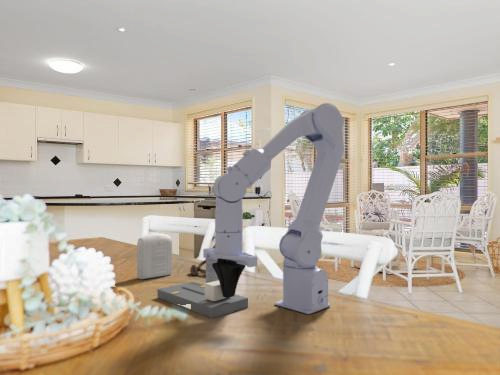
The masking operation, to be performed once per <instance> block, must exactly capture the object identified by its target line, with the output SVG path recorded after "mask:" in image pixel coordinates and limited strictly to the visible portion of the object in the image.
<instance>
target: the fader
mask: <svg viewBox="0 0 500 375" xmlns="http://www.w3.org/2000/svg"><path fill="white" fill-rule="evenodd" d="M204 285H205V299H208V300H211V301H217V300H221V299H225V298H226V297H223V294H222V290H221V286H220V282H219V280H218V281H213V282H209V283H206V282H205V283H204Z"/></svg>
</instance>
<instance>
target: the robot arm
mask: <svg viewBox="0 0 500 375" xmlns="http://www.w3.org/2000/svg"><path fill="white" fill-rule="evenodd" d="M344 122H345V119H344V116H342V113H341V112H340V110H339V108H338V107H337V106H336V105H334V104H333V103H329V102H324V103H321V104H319V105H318V106H316V107H314V108H311V109H307V110H304V111H303V112H302V113H300V115H297V116H296V117H294V118H292V120H290V121H288V123H287V124H286V125H285V126H283V128H282V129H281V130H279V131H278V132H277V133H276V134H275V135H274V136H273V137H272V138H271V139H269V141H267V143H265V145H264V146H263V147H262V148H252V149H249V150H248V149H247V150H244V151H243V153H242V155H243V156H242V157H241V158H240V159H239V160H238V161H237V162H236V163H234V164H233V166H231V165H229V166H228V167H226V168H225V169H226V171H227V173H224V174H221V175H219V176H218V177H217V178H216V179H215V180H214V183H213V186H212V187H211V190H212V193H213V196H214V197H215V209H214V232H215V233H214V235H215V236H214V248H213V247H206V248H203V250H202V251H203V254H202V255H203V257H202V258H204V259H206V258H213V259H217V263H213V264H212V267H213V269H214V270H215V272H216V274H217V276H218V279H219V282H220V286H221V290H222V294H223V297H226V298H229V297H233V296H234V295H235V294H236V291H237V286H238V284H239V280H240V278H241V275H242V273H243V271H244V270H245V268H246V267H247V268H253V267H254V268H255V267H258V256H257V255H253V254H250V253H247V252H245V251H244V250H243V248H244V247H243V241H244V240H243V237H244V236H243V232H244V227H243V221H244V220H243V214H244V213H243V212H244V210H243V198H244V197H245V196H246V194H247V191H248V189H249V188H251V186H253V185H254V184H255V183H256V182H258V180H260V179H261V178H262V177H263V176H265V174H266V173H267V172H268V171H270V170H271V168H272V160H273V159H274V158H276V157H277V156H278V155H279V154H280V153H282V152H283V151H284V150H286V148H288V147H289V146H290V145H291V144H293V143H294V141H296V140H298V138H302V137H303V138H306V139H307V141H309V142H310V143H311V144H312V145H313V147H314V148H315V151H316V152H317V155H316V159H315V161H314V164H313V167H312V170H311V173H310V177H309V178H308V182H307V185H306V188H305V191H304V194H303V197H302V199H301V200H302V201H301V204H300V205H299V209H298V212H297V216H296V218H295V219H294V220H292V222H291V223H290V225H289V226H288V229H287V231H286V233H285V234H284V235H283V236H282V237H281V239H280V240H279V246H278V248H279V251H280V255H282V256H283V262H282V264H283V265H282V280H283V281H282V284H283V285H282V291H283V292H282V299H281V300H277V301H275V302H274V305H276V306H278V307H281V308H286V309H289V310H292V311H296V312H300V313H304V314H306V315H310V314H311V315H312V314H313V313H316V312H319V311H321V310H324V309H327V308H329V307H330V306H331V304H330V303H329V276H328V274H327V271H326V270H325V269H323V268H319V267H318V266H317V263H318V262H319V261H320V258H321V257H322V252H323V250H322V240H323V237H324V235H323V232H322V229H321V226H320V225H321V222H322V220H323V217H324V214H325V210H326V207H327V204H328V202H329V199H330V195H331V191H332V190H333V189H332V188H333V186H334V183H335V180H336V177H337V174H338V171H339V168H340V165H341V161H342V160H343V156H344V152H345V146H344V144H345V143H344V137H343V136H344V134H343V126H344Z"/></svg>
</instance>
